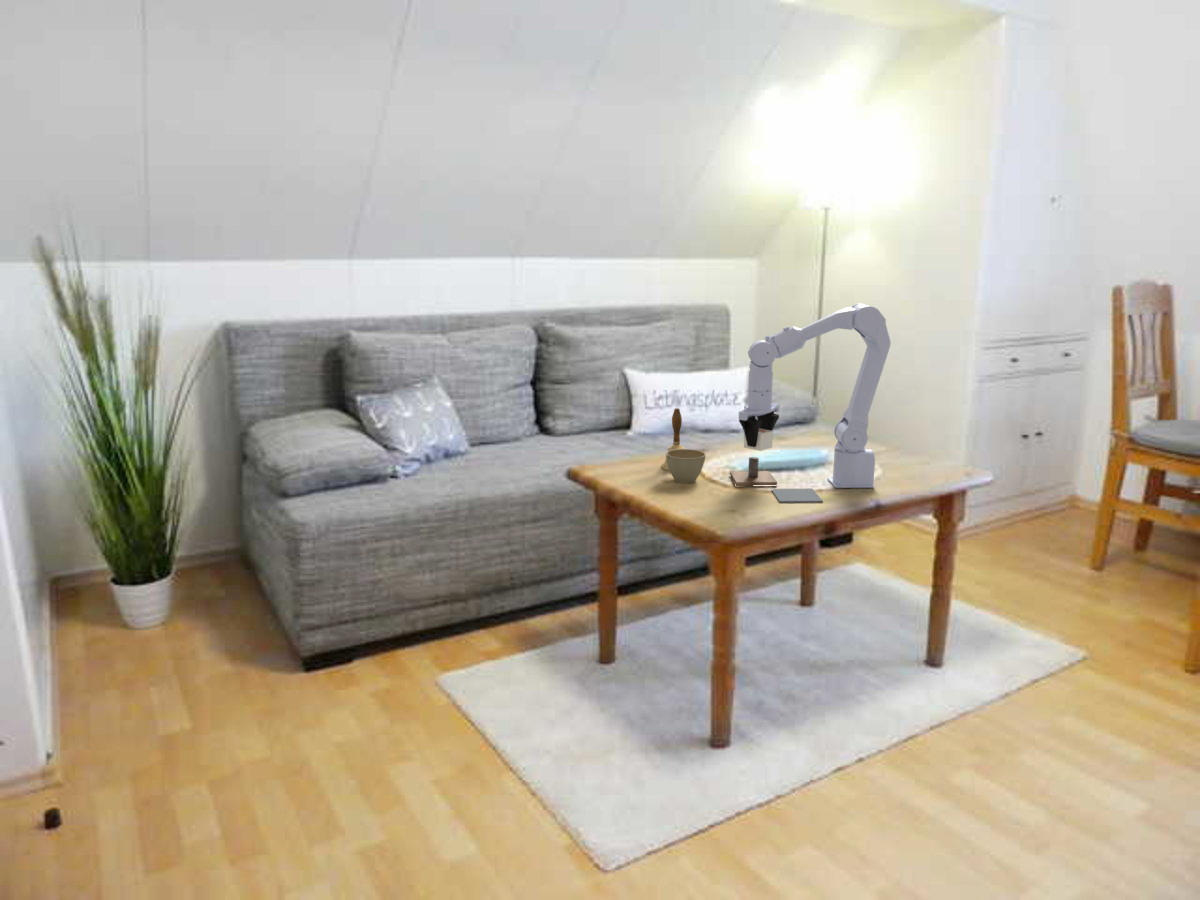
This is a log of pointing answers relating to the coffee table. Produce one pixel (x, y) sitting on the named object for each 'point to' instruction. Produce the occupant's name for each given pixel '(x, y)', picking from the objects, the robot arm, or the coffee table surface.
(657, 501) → the coffee table surface
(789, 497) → the mat
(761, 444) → the cream cube
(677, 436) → the hand bell
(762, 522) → the coffee table surface
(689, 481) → the flower pot
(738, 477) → the post stand
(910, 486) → the coffee table surface
